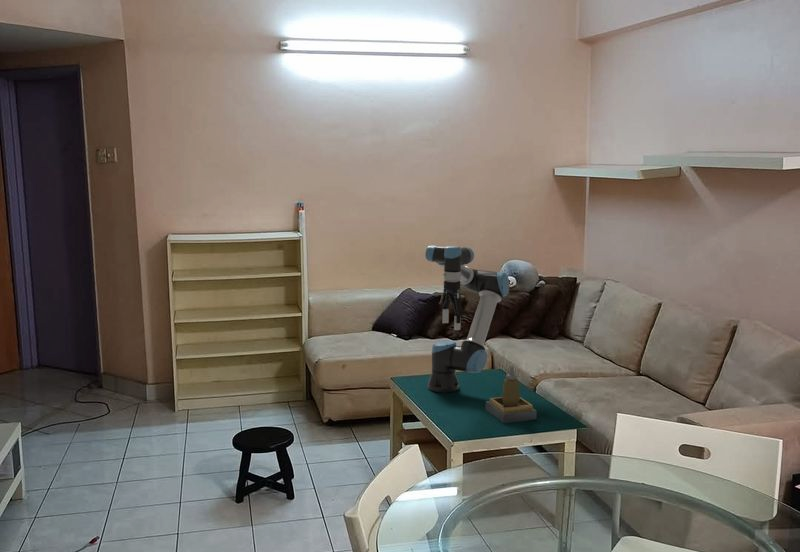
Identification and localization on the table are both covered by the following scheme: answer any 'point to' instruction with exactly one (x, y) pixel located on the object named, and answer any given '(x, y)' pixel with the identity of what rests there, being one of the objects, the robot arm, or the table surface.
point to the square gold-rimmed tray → (510, 410)
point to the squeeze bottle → (511, 389)
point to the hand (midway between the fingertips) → (451, 326)
